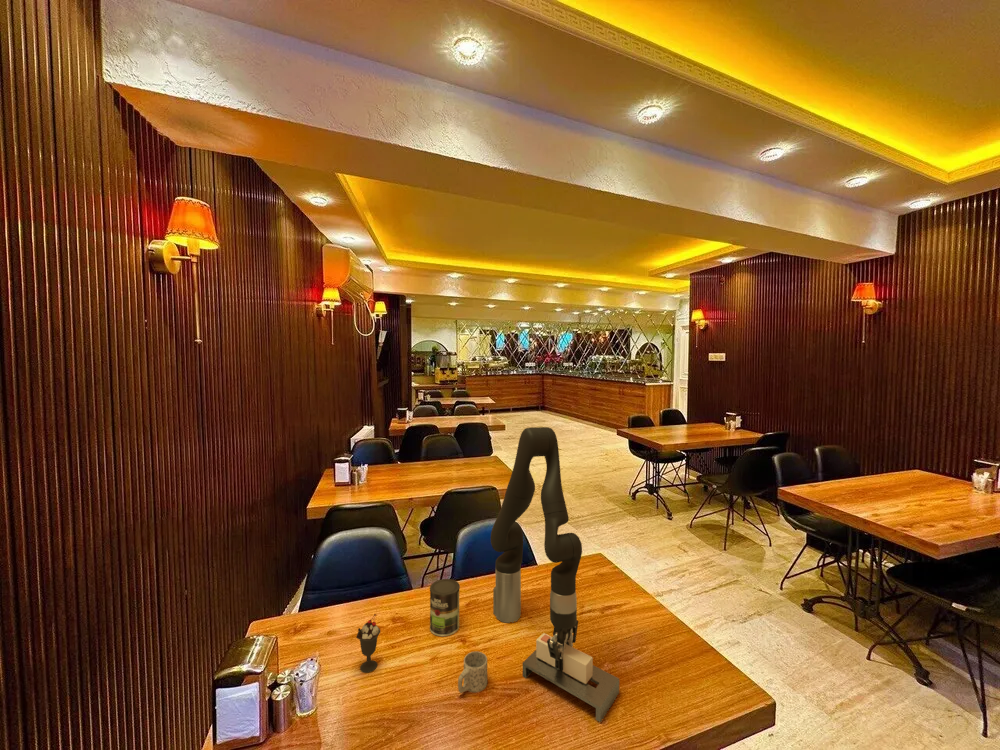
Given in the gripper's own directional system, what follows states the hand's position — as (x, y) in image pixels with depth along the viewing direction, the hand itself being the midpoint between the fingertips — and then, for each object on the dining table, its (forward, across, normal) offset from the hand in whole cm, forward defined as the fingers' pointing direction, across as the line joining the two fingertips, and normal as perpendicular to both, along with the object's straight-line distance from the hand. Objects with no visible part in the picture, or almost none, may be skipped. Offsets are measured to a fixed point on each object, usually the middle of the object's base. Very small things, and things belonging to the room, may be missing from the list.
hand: (563, 664), depth 111 cm
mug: (+5, +18, -19) cm, 27 cm away
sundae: (+5, +32, -48) cm, 58 cm away
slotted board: (+5, 0, +2) cm, 5 cm away
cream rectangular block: (+3, 0, 0) cm, 3 cm away
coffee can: (+5, +5, -44) cm, 44 cm away
